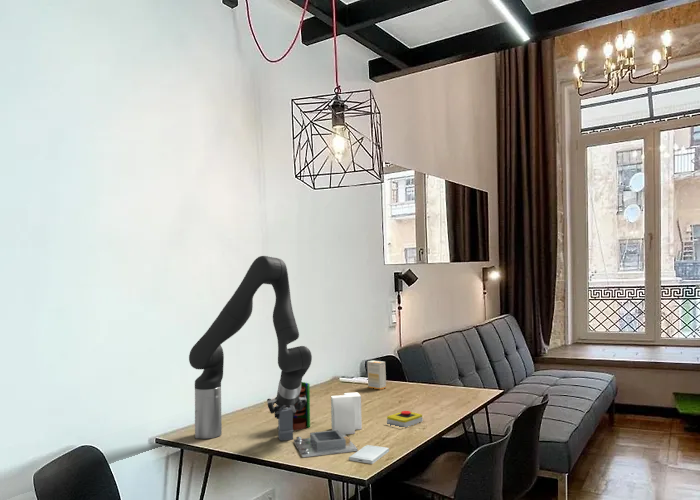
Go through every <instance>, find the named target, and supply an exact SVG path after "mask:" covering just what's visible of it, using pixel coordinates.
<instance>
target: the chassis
mask: <svg viewBox="0 0 700 500" xmlns="http://www.w3.org/2000/svg"><path fill="white" fill-rule="evenodd" d="M309 435H310V436H309V437H307V438H306V437H305V438H302V437H301V436H297V437H296V439H293V442H294V445H295V447H296V448H297V451H298V452H299V454H300V455H301V457H302V458H309V457H319V456H328V455H335V454H336V455H337V454H343V453H351V452H352V453H354V452H357V451H359V450H358V448H357V447H356V445H355V443H353V442H352V441H351V438H349V436H347V434H342V435H341V434H340V433H339V431H338V430H332V429H331V430H324V431H316V432H315V431H314V432H310V433H309Z"/></svg>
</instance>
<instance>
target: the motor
mask: <svg viewBox="0 0 700 500" xmlns="http://www.w3.org/2000/svg"><path fill="white" fill-rule="evenodd" d="M310 393H311V384H310V383H309V382H305V381H304V382H303V381H302V382H301V391H300V395H299V397H303V396H304V395H305V396H306V399H307V403H306V405H305V406H304V407H303V409H302V410H301V411H298V410H297V411H296V413H295V416H293V431H299V430H304V429H310V428H311V394H310ZM297 404H298V403H297ZM297 404H295V405H297ZM290 408H291V407H290Z"/></svg>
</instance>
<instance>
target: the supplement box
mask: <svg viewBox="0 0 700 500" xmlns="http://www.w3.org/2000/svg"><path fill="white" fill-rule="evenodd" d="M366 362H367V363H366V364H367V365H366V366H367V388H369V389H373V388H374V389H373V390H380V391H381V390H384V388H385V389H387V375H386V374H387V372H386V361H381V360H373V359H372V360H368V361H366Z"/></svg>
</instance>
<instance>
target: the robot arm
mask: <svg viewBox="0 0 700 500" xmlns="http://www.w3.org/2000/svg"><path fill="white" fill-rule="evenodd" d="M262 285H271V286H272V289H273V291H274V294H275V302H274V303H275V304H274V307H273V311H272V323H273V324H272V325H273V327H274V331H275V335H276V339H277V364H278V367H279V369H280V371H281V372H280V379H279V381H278V385H277V393H276V397H275V398H274V399H271V398H267V400H266V401H267V408H268V409H269V412H270V414H271V415H273V414H274V418H276V420H278V419H279V413H280V411H282V410H283V409H284V408H286V407H288V408H290V407H291V409H292V411H293V416H295V413H296V411H297V410H298V411H301V410H302V409H303V407H304V406H305V405H306V403H307V399H306V396H305V395H304V396H303V397H299V395H300V391H301V382H303V381H302V380H303V377H304V376H305V374H306V373H307V372H308V370H309V369H310V367H311V365H312V358H313V356H312V352H311V350H310V348H308V347H307V346H305V345H301V346H300V345H299V346H296V347H291V348H288V345H289V344H291V343H293V342H295V341H297V340H298V339H299V338H300V332H299V328H298V325H297V322H296V318H295V315H294V311H293V305H292V300H291V299H292V298H291V290H290V281H289V273H288V268H287V264H286V262H285V261H284V260H282V259H281V258H278V257H274V256H273V257H272V256H268V255H260V256H258V257H256V259H254V260H253V262H252V264H251V265H250V267H249V268H248V270H247V271H246V273H245V275H244V276H243V279H242V280H241V282H240V284H239V285H238V286H237V288H236V290H235V291H234V293H233V295H232V296H231V298H230V299H229V300H228V301H227V302H226V304H225V305H224V307H223V308H222V310H221V311H220V312H219V314H218V315H217V317H216V318H215V319H214V321H213V322H212V323H211V325H210V326H209V327H208V329H207V330H206V332H205V333H204V334H203V335H202V336H201V337H200V338H199V340H198V341H197V342H196V343H195V344H194V345H193V346H192V347H191V349H190V351H189V355H188V362H189V364H190V366H191V367H192V368H193V369H195V370H203V371H202V373H201V374H200V375H199V376H198V377H197V378H196V379H195V380H194V439H200V440H201V439H202V440H203V439H206V440H207V439H214V438H218V437H220V436H221V435H222V431H223V430H222V429H223V427H222V424H223V423H222V381H223V378H224V358H225V356H224V354H225V353H224V350H223V347H222V344H223V343H224V342H226V341H227V340H228V339H230V338H232V337H233V336H234V335H235V334H237V333H238V332H240V330H241V329H242V328H243V327H244V325H246V323H247V322H248V321H249V319H250V317H251V316H252V313H253V308H254V307H253V305H254V301H253V299H254V297H255V294H256V293H257V291H258V290H259V289H260V287H261V286H262ZM297 403H298V404H297ZM295 404H297V405H295ZM274 405H275V406H274Z"/></svg>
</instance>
